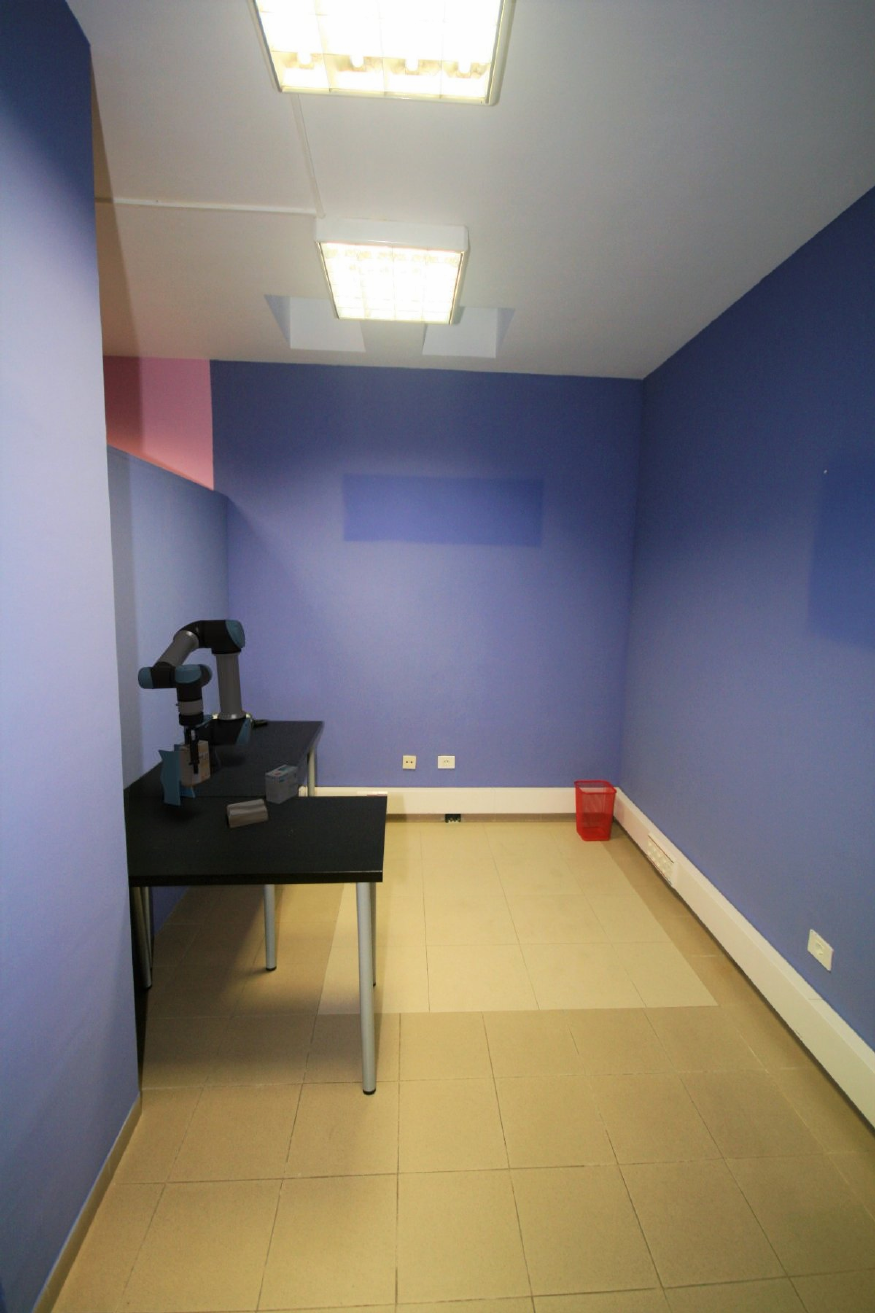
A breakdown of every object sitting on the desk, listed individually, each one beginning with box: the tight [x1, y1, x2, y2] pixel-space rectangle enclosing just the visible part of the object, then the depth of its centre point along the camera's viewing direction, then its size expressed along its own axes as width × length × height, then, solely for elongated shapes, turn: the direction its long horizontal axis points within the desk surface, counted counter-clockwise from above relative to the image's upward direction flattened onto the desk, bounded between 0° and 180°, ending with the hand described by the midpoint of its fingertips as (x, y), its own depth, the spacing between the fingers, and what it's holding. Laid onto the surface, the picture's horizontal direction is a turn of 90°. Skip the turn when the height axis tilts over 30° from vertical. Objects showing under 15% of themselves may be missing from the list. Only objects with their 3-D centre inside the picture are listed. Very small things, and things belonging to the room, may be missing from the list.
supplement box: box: [179, 740, 211, 787], centre depth 173 cm, size 8×5×13 cm, turn 160°
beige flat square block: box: [226, 798, 269, 828], centre depth 179 cm, size 10×12×4 cm
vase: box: [157, 743, 196, 806], centre depth 192 cm, size 8×8×20 cm
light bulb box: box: [264, 764, 299, 805], centre depth 195 cm, size 11×7×11 cm, turn 154°
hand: (196, 777), depth 174 cm, fingers closed on supplement box, 9 cm apart
